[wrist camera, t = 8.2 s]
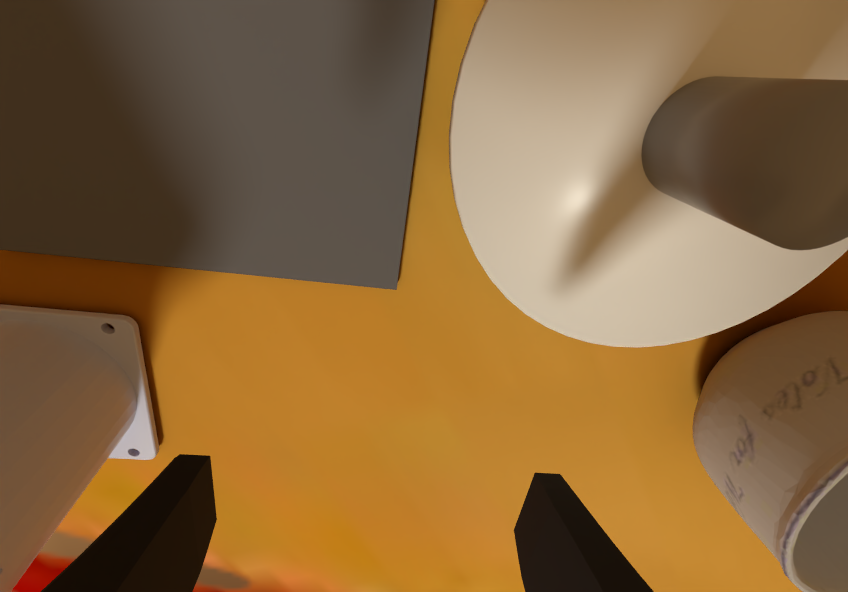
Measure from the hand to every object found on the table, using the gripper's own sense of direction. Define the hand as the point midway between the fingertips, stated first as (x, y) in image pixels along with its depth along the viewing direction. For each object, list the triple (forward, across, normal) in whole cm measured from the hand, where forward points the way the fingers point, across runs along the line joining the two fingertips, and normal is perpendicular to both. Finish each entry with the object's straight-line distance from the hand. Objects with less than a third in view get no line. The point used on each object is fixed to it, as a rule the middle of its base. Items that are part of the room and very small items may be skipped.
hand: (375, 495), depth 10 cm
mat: (+10, +7, -8) cm, 15 cm away
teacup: (+10, -20, +4) cm, 23 cm away
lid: (+5, -8, -8) cm, 12 cm away
